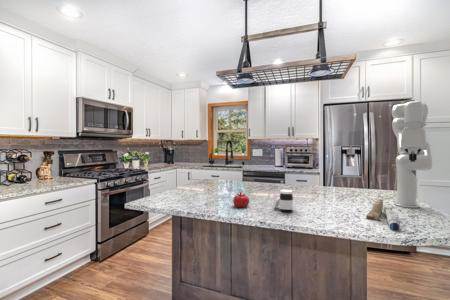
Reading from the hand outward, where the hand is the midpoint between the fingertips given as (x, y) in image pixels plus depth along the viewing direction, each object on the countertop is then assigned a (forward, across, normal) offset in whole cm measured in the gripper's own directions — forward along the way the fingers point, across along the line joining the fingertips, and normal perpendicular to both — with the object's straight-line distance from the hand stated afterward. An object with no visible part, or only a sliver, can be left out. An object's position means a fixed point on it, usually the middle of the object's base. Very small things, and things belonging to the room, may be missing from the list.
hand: (412, 161), depth 124 cm
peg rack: (+29, +15, +9) cm, 34 cm away
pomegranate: (+29, +83, +37) cm, 96 cm away
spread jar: (+29, +59, +28) cm, 72 cm away
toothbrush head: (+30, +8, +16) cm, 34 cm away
